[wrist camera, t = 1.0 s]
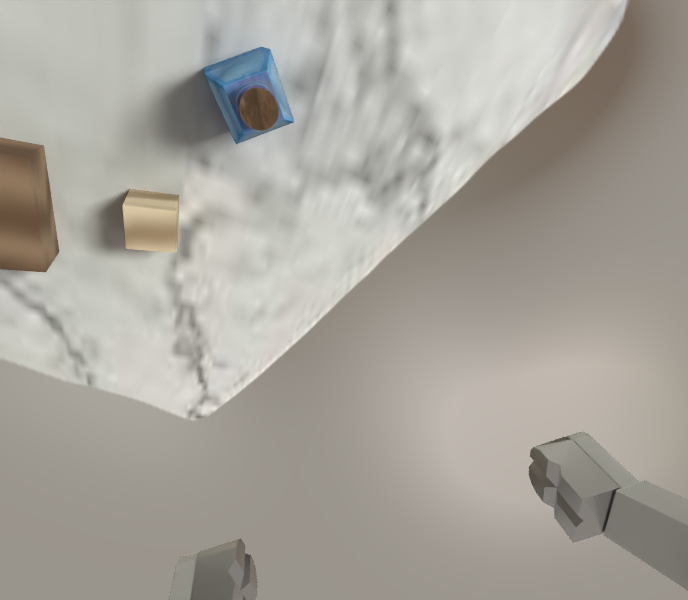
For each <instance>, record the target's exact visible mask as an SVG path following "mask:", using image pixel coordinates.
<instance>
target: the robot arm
mask: <svg viewBox="0 0 688 600" xmlns="http://www.w3.org/2000/svg"><path fill="white" fill-rule="evenodd" d="M530 457H531V458H532V459H533V460H534V461H533V462H532V464H531V465H530V466H529V477H530V480H531V483H532V485H533V487H534V489H535V491H536V493H537V494H538V496H539V497H540V498H541V500H542V501H543V502H544V503H546V504H548V505H550V506H552V507H553V508H554V516H555V519H556V520H557V521H558V523H559V524H560V526H561V527H562V528H563V530H564V531H565V532H566V534H567V535H568V536H569V538H570V539H571V540H572V542H577V541H580V540H583V539H586V538H590V537H593V536H596V535H599V534H603V533H604V536H606V537H607V538H609V539H610V540H612V541H613V542H615V543H616V544H618V545H620V546H621V547H622V548H624V549H626V550H627V551H629V552H630V553H631V554H633V555H634V556H636V557H638V558H639V559H641V560H642V561H644V562H645V563H647V564H648V565H650V566H651V567H653V568H654V569H656V570H657V571H659V572H660V573H662V574H663V575H665V576H667V577H668V578H670V579H671V580H673V581H674V582H676V583H677V584H679V585H680V586H682V587H683V588H685V589H686V590H688V499H686V498H683V497H681V496H679V495H676V494H674V493H672V492H670V491H668V490H665V489H663V488H661V487H658V486H656V485H654V484H652V483H649V482H647V481H642V482H639V481H638V480H637V479H636V478H635V477H634V476H633V475H632V474H631V473H630V472H629V471H627V470H626V469H625V468H624V467H623V466H622V465H621V464H620V463H619V462H618V461H617V460H616V459H615V458H614V457H613V456H612V455H610V454H609V453H608V452H607V451H606V450H605V449H604V448H603V447H602V446H601V445H600V444H599V443H598V442H596V440H595V439H593V438H592V437H591V436H590V435H589V434H587V433H585V432H579V433H576V434H573V435H570V436H567V437H562V438H559V439H556V440H554V441H550V442H547V443H545V444H541V445H539V446H535V447H533V448H532V449H531V452H530ZM256 597H257V575H256V568H255V565H254V561H253V559H252V557H251V555H249V554H246V553H245V544H244V543H243V541H242V540H241V539H238V540H235V541H232V542H229V543H226V544H222V545H219V546H215V547H212V548H209V549H206V550H202V551H198V552H195V553H192V554H189V555H185V556H182V557H180V559H179V560H178V563H177V565H176V567H175V572H174V577H173V582H172V587H171V591H170V596H169V600H255V599H256Z"/></svg>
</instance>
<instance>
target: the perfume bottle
mask: <svg viewBox="0 0 688 600" xmlns="http://www.w3.org/2000/svg"><path fill="white" fill-rule="evenodd" d="M204 74H205V76H206V78H207V80H208V83H209V85H210V87H211V89H212V92H213V94H214V96H215V98H216V100H217V103H218V105H219V107H220V109H221V112H222V114H223V116H224V118H225V121H226V123H227V125H228V127H229V129H230V132H231V134H232V136H233V138H234V141H235V143H236V144H238V143H240V142H243V141H246V140H248V139H251V138H253V137H256V136H259V135H261V134H264V133H267V132H269V131H272V130H275V129H277V128H280V127H282V126H285V125H288V124H290V123H293V122H294V119H293V116H292V113H291V110H290V107H289V104H288V101H287V98H286V95H285V92H284V89H283V86H282V83H281V80H280V77H279V74H278V71H277V68H276V65H275V62H274V59H273V56H272V53H271V50H270V49H268V48H264V47H260V48H257V49H254V50H252V51H249V52H246V53H243V54H241V55H238V56H235V57H232V58H230V59H227V60H224V61H221V62H219V63H216V64H213V65H210V66H208V67H205V68H204Z"/></svg>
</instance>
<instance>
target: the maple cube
mask: <svg viewBox="0 0 688 600" xmlns="http://www.w3.org/2000/svg"><path fill="white" fill-rule="evenodd" d="M123 218H124V231H125V244H126V249H134V250H147V251H160V252H174V253H176V251H177V243H178V235H179V195H172V194H164V193H157V192H149V191H142V190H134V189H130V190H129V192H128V195H127V197H126V199H125V201H124V203H123Z"/></svg>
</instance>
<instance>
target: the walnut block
mask: <svg viewBox="0 0 688 600" xmlns="http://www.w3.org/2000/svg"><path fill="white" fill-rule="evenodd" d="M58 253H59V247H58V240H57V233H56V226H55V219H54V212H53V205H52V199H51V192H50V185H49V178H48V171H47V164H46V157H45V150H44V146H43V145H38V144H32V143H27V142H21V141H16V140H10V139H5V138H0V269H7V270H21V271H36V272H46V271H47V270H48V268H49V267H50V265H51V264H52V262H53V261H54V259H55V258H56V256H57V254H58Z"/></svg>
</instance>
